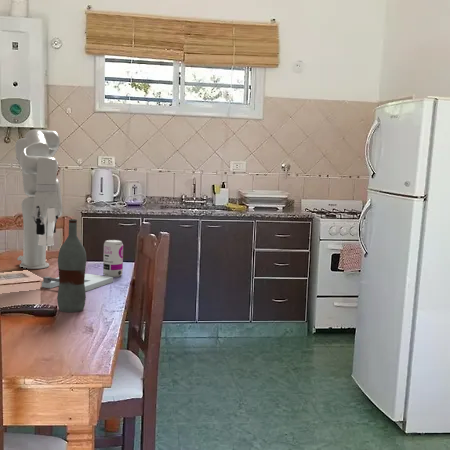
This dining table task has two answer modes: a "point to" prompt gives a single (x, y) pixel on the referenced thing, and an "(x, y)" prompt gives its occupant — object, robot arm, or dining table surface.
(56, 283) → the shelf board
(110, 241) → the supplement can
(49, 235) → the beer glass
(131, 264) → the dining table surface
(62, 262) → the bottle
